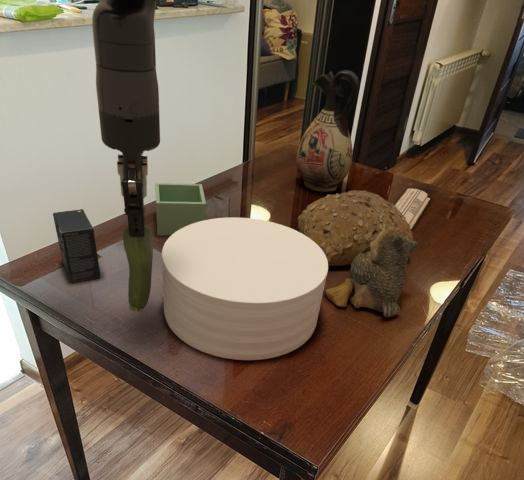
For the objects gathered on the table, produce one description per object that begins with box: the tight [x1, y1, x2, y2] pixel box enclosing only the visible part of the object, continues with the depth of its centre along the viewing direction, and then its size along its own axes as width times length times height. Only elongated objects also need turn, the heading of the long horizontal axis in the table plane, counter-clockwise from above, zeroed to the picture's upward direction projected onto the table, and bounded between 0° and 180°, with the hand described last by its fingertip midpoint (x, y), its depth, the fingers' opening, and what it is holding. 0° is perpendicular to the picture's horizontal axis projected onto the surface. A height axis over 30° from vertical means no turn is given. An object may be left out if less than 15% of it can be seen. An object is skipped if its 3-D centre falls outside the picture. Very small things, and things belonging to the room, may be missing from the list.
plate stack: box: [161, 217, 329, 361], centre depth 85 cm, size 28×28×12 cm
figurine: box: [325, 229, 418, 318], centre depth 91 cm, size 14×15×15 cm
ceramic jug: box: [295, 69, 360, 193], centre depth 128 cm, size 17×15×30 cm
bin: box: [154, 182, 207, 237], centre depth 109 cm, size 11×11×8 cm
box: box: [52, 208, 101, 283], centre depth 90 cm, size 8×6×11 cm
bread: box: [297, 189, 414, 267], centre depth 108 cm, size 24×21×12 cm
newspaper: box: [394, 187, 431, 230], centre depth 131 cm, size 24×7×2 cm, turn 153°
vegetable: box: [122, 204, 154, 313], centre depth 76 cm, size 4×4×20 cm
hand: (137, 229), depth 72 cm, fingers closed on vegetable, 3 cm apart
